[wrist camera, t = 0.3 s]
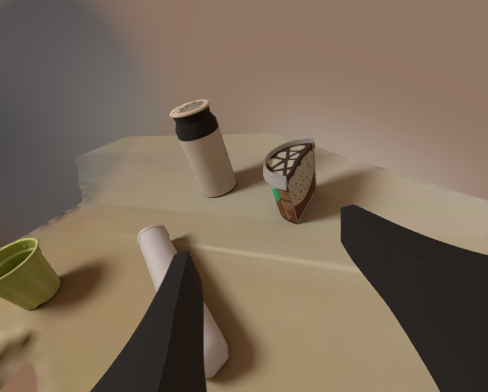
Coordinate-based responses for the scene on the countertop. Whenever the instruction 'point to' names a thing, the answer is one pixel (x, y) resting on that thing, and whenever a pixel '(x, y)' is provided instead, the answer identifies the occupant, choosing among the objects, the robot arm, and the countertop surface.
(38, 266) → the plant pot
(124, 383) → the robot arm
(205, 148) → the travel mug
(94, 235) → the countertop surface
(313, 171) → the food container
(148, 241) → the tube
